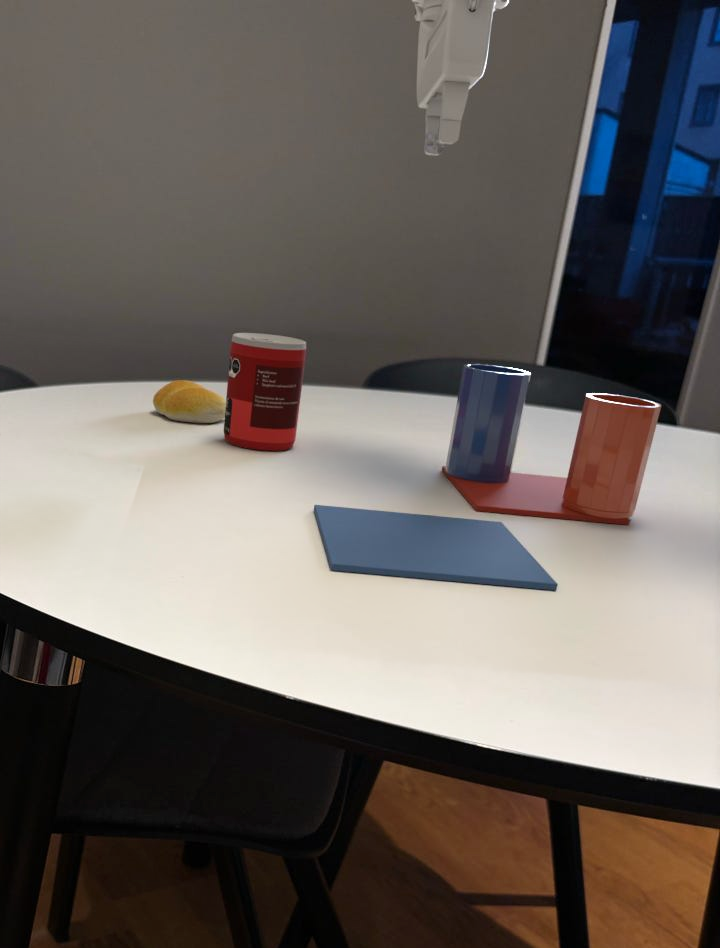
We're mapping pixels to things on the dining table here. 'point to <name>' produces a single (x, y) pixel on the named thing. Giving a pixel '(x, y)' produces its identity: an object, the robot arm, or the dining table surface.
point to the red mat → (523, 497)
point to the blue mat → (427, 548)
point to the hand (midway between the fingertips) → (439, 149)
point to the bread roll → (189, 403)
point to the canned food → (264, 391)
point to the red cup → (610, 455)
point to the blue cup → (487, 422)
